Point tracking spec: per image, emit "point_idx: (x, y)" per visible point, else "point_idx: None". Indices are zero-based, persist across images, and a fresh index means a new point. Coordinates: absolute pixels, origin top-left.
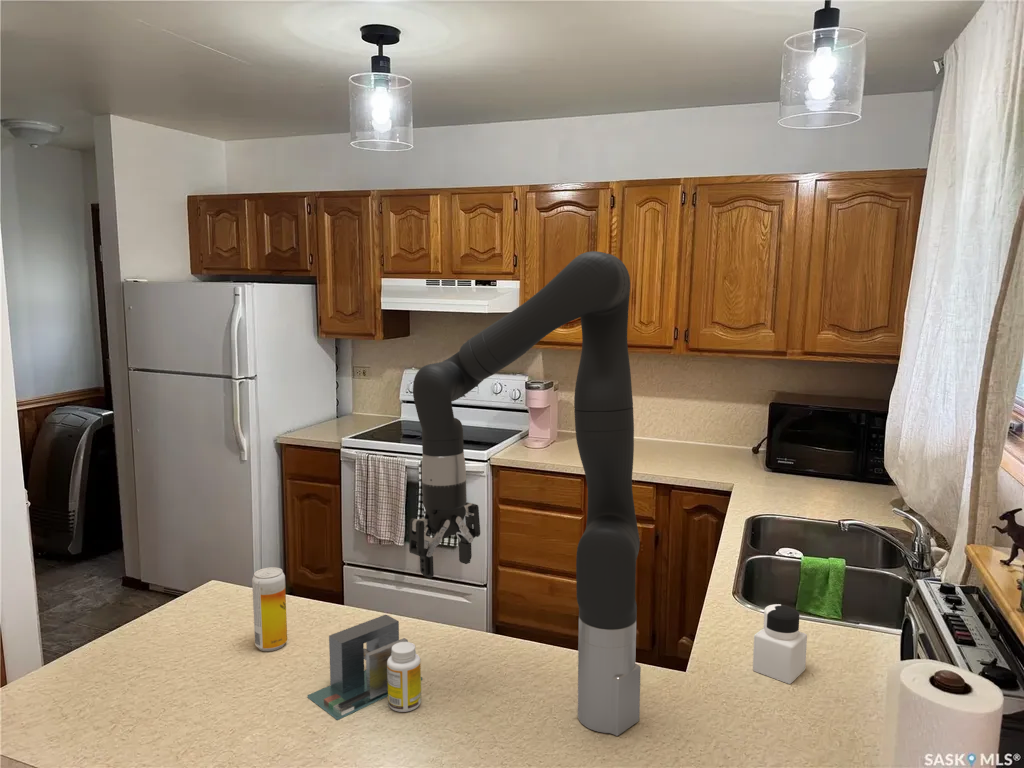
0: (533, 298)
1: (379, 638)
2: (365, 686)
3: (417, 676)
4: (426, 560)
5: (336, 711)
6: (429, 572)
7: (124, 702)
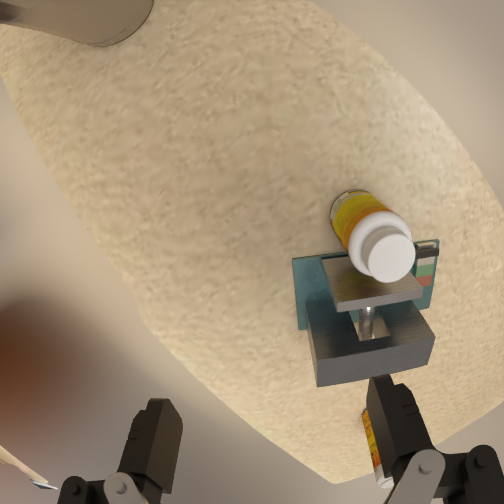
0: None
1: (357, 339)
2: None
3: (364, 206)
4: (422, 438)
5: None
6: (393, 392)
7: (497, 367)
